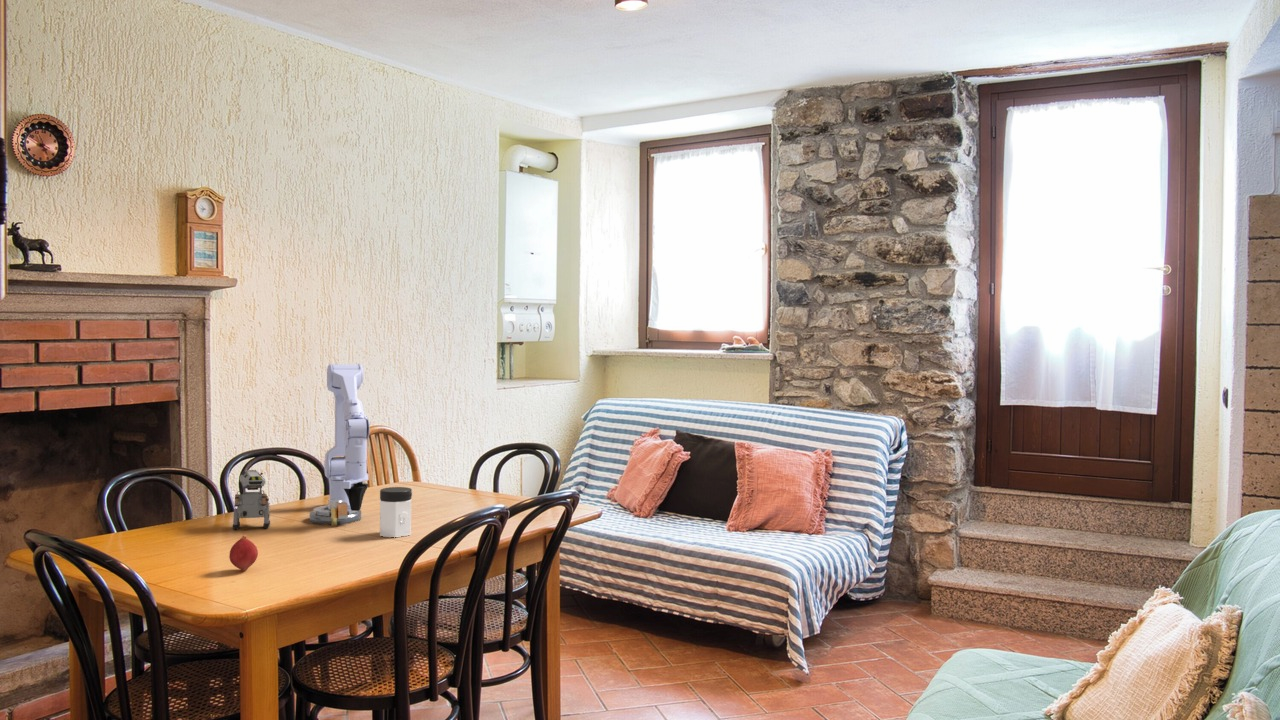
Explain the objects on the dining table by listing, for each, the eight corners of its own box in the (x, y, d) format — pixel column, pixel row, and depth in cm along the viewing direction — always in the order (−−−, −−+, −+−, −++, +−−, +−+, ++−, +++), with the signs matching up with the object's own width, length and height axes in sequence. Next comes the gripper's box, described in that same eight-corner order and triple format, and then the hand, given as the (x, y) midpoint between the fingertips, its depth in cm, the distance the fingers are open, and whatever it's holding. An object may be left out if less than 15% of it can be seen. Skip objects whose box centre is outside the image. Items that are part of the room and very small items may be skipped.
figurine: (272, 521, 255) (273, 468, 255) (267, 530, 244) (267, 474, 244) (237, 522, 253) (237, 469, 253) (230, 531, 242) (230, 475, 241)
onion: (224, 573, 201) (224, 537, 200) (237, 567, 206) (237, 532, 206) (250, 574, 200) (250, 538, 200) (262, 567, 206) (262, 532, 206)
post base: (320, 514, 266) (320, 495, 266) (367, 515, 266) (367, 496, 266) (301, 524, 252) (301, 504, 252) (351, 525, 252) (352, 505, 252)
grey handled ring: (310, 509, 262) (310, 495, 261) (352, 506, 267) (352, 493, 267) (320, 520, 247) (320, 505, 247) (364, 517, 253) (364, 502, 253)
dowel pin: (332, 525, 252) (332, 507, 251) (337, 525, 252) (338, 507, 251) (330, 526, 250) (330, 508, 250) (335, 526, 250) (336, 508, 250)
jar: (387, 539, 236) (388, 493, 236) (372, 534, 242) (373, 489, 242) (418, 534, 242) (419, 489, 242) (403, 529, 248) (403, 485, 248)
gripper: (351, 457, 261) (351, 504, 262) (331, 465, 247) (331, 515, 247) (375, 458, 261) (375, 505, 261) (357, 465, 246) (356, 515, 247)
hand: (355, 510), depth 254 cm, fingers closed
